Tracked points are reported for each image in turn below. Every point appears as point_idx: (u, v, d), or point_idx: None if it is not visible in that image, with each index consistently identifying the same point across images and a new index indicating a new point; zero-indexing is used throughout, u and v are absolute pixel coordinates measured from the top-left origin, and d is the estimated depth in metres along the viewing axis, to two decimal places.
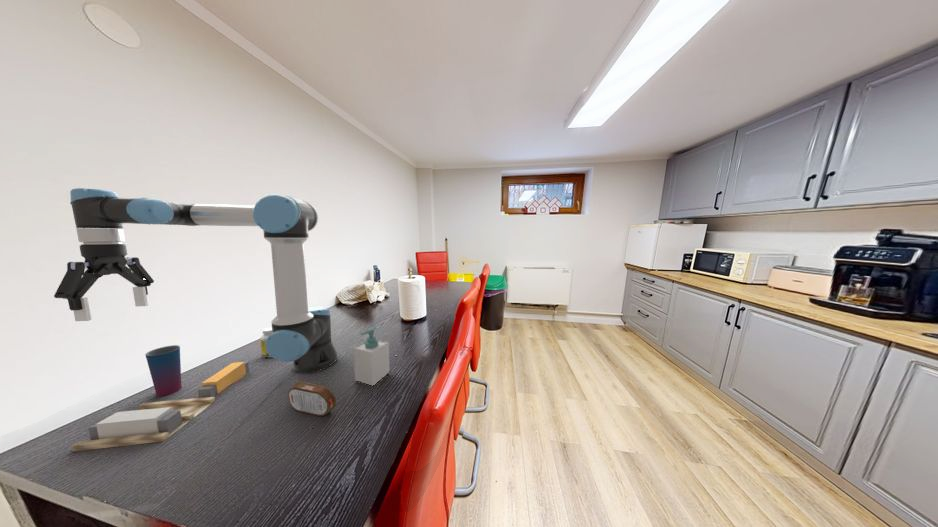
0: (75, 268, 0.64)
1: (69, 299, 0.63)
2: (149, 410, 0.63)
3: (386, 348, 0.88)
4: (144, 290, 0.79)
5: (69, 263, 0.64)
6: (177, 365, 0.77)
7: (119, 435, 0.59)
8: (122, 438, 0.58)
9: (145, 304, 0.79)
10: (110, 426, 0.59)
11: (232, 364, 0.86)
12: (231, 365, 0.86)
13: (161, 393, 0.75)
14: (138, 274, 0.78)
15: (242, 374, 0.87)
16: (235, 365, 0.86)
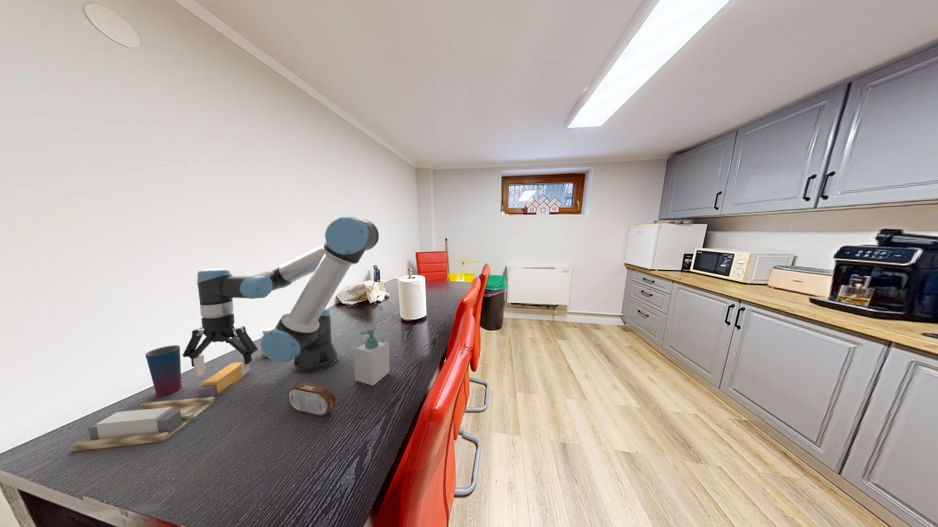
0: None
1: None
2: (149, 410, 0.63)
3: (386, 348, 0.88)
4: (242, 360, 0.81)
5: None
6: (177, 365, 0.77)
7: (119, 435, 0.59)
8: (122, 438, 0.58)
9: (242, 373, 0.82)
10: (110, 426, 0.59)
11: (232, 364, 0.86)
12: (231, 365, 0.86)
13: (161, 393, 0.75)
14: None
15: None
16: (235, 365, 0.86)
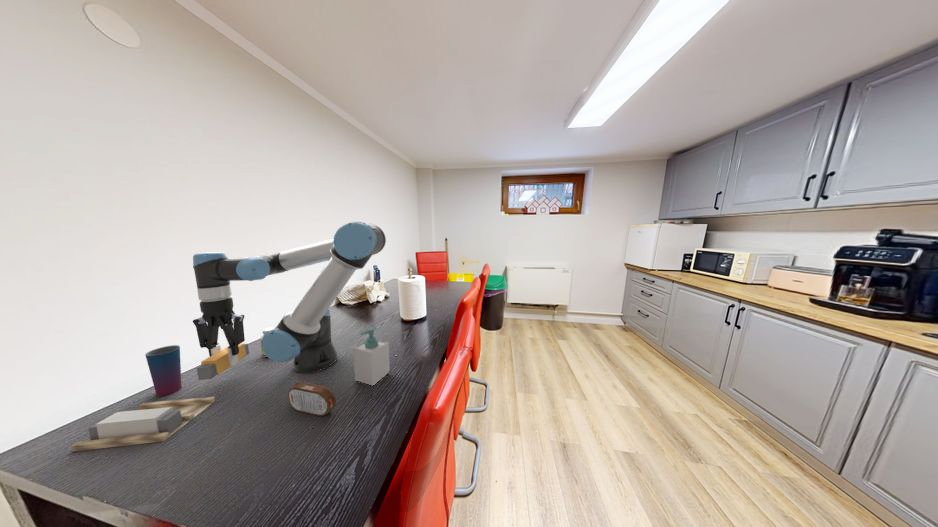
0: None
1: None
2: (149, 410, 0.63)
3: (386, 348, 0.88)
4: (228, 351, 0.80)
5: None
6: (177, 365, 0.77)
7: (119, 435, 0.59)
8: (122, 438, 0.58)
9: (229, 364, 0.81)
10: (110, 426, 0.59)
11: None
12: None
13: (161, 393, 0.75)
14: None
15: (242, 355, 0.86)
16: None
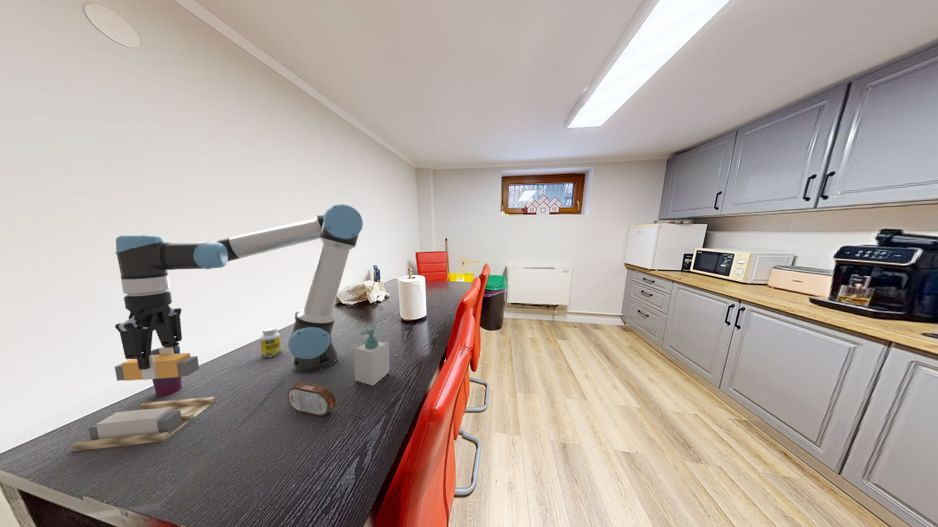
0: (127, 330, 0.59)
1: (138, 359, 0.62)
2: (149, 410, 0.63)
3: (386, 348, 0.88)
4: (172, 351, 0.69)
5: (117, 326, 0.58)
6: None
7: (119, 435, 0.59)
8: (122, 438, 0.58)
9: None
10: (110, 426, 0.59)
11: (132, 361, 0.64)
12: (136, 360, 0.65)
13: (161, 393, 0.75)
14: (171, 329, 0.70)
15: None
16: None
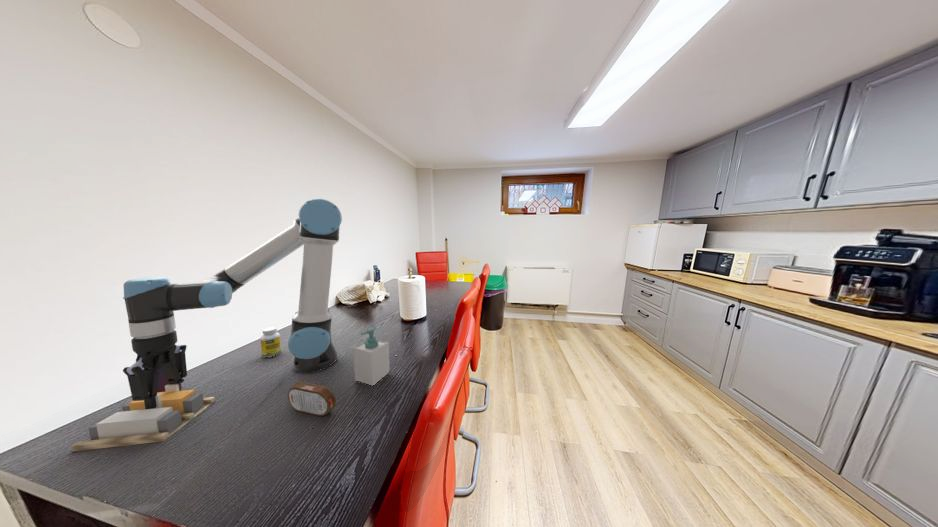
0: (134, 374, 0.60)
1: (145, 399, 0.63)
2: (149, 410, 0.63)
3: (386, 348, 0.88)
4: (177, 388, 0.70)
5: (125, 370, 0.60)
6: None
7: (119, 435, 0.59)
8: (122, 438, 0.58)
9: None
10: (110, 426, 0.59)
11: None
12: None
13: None
14: (176, 365, 0.71)
15: None
16: None
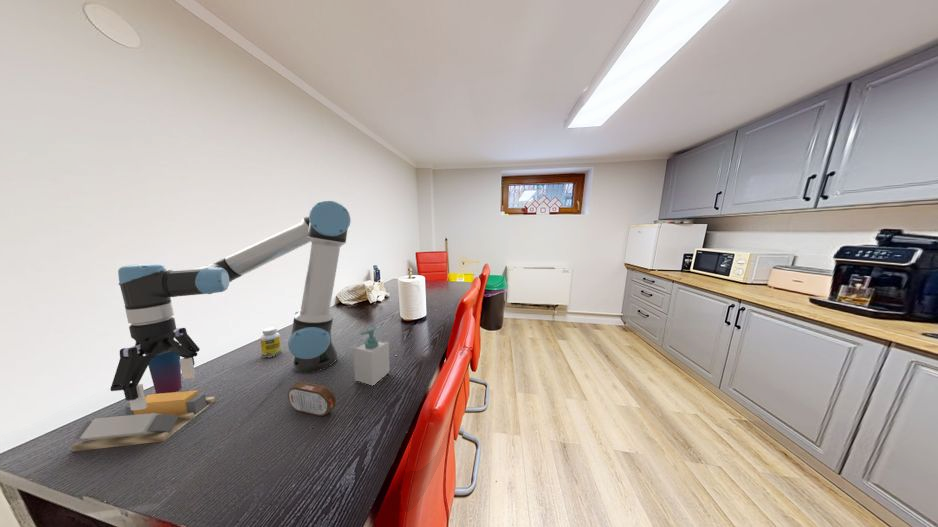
0: (128, 355, 0.59)
1: (125, 389, 0.59)
2: (130, 417, 0.59)
3: (386, 348, 0.88)
4: (191, 361, 0.74)
5: (121, 350, 0.59)
6: (177, 365, 0.77)
7: None
8: (122, 438, 0.58)
9: (193, 376, 0.74)
10: (97, 437, 0.56)
11: None
12: (146, 400, 0.66)
13: None
14: (184, 344, 0.73)
15: None
16: (152, 397, 0.68)
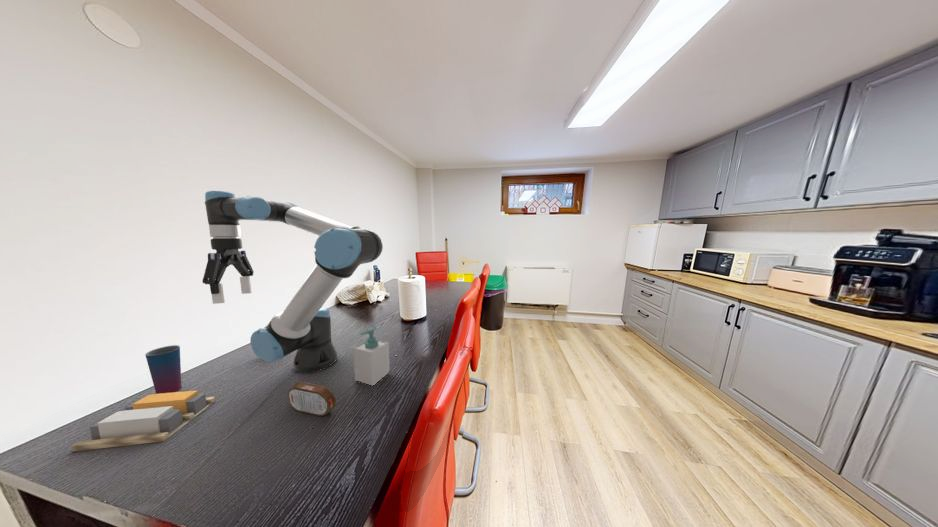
0: (214, 258, 0.76)
1: (211, 284, 0.75)
2: (150, 409, 0.63)
3: (386, 348, 0.88)
4: (249, 279, 0.90)
5: (209, 254, 0.75)
6: (177, 365, 0.77)
7: (120, 434, 0.60)
8: (122, 438, 0.58)
9: (250, 291, 0.91)
10: (111, 425, 0.59)
11: (142, 401, 0.66)
12: (146, 400, 0.66)
13: None
14: (243, 265, 0.90)
15: None
16: (152, 397, 0.68)
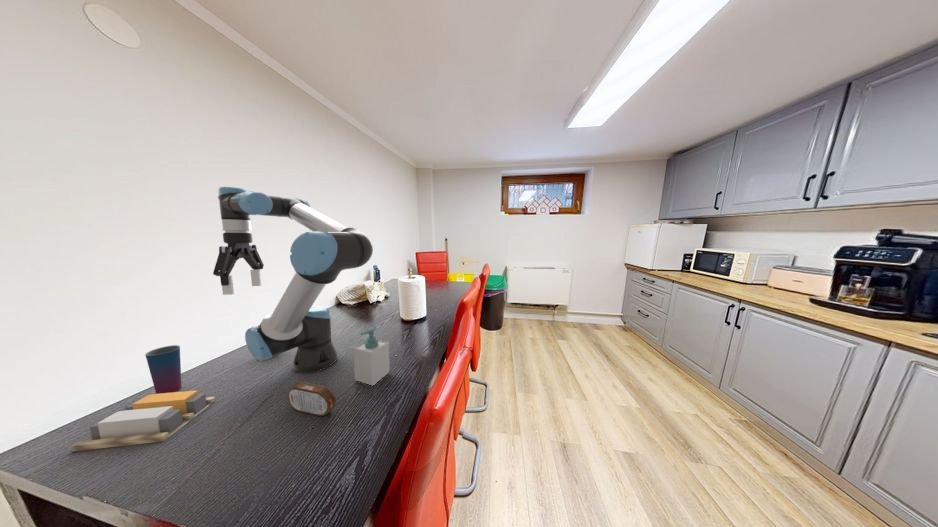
0: (225, 251, 0.79)
1: (221, 276, 0.79)
2: (150, 409, 0.63)
3: (386, 348, 0.88)
4: (259, 272, 0.94)
5: (220, 247, 0.79)
6: (177, 365, 0.77)
7: (120, 434, 0.60)
8: (122, 438, 0.58)
9: (259, 284, 0.94)
10: (111, 425, 0.59)
11: (142, 401, 0.66)
12: (146, 400, 0.66)
13: None
14: (254, 259, 0.94)
15: None
16: (152, 397, 0.68)
